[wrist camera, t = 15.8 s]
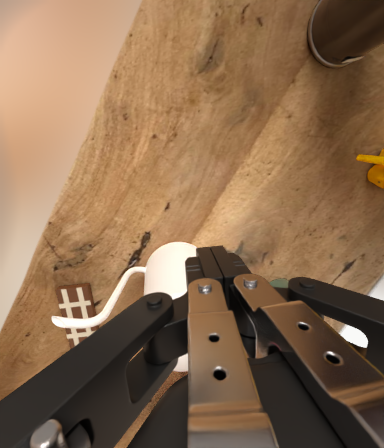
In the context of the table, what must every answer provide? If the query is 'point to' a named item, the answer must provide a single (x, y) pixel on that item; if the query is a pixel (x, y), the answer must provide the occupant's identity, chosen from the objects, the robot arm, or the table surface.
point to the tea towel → (77, 309)
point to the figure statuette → (375, 168)
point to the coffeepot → (148, 285)
